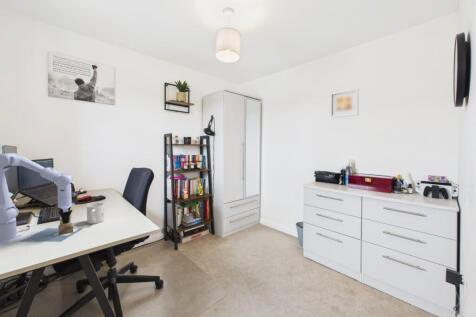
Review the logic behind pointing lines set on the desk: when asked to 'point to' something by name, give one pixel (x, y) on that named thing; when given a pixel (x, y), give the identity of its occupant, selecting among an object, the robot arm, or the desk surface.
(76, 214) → the desk surface
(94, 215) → the mug
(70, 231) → the walnut base
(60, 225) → the maple block
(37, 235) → the mat
